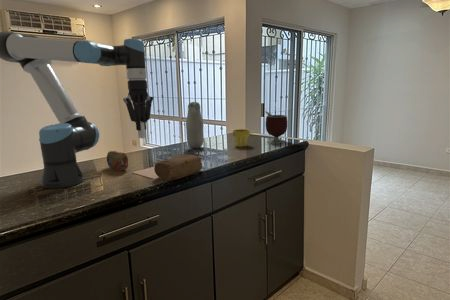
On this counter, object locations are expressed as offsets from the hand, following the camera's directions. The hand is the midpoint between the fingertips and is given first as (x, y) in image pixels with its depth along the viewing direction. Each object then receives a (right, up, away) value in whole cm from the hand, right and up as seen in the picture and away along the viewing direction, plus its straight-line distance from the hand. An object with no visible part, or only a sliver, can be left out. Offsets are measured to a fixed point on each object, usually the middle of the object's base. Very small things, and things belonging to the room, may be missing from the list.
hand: (142, 137), depth 126 cm
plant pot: (+45, -3, +63) cm, 77 cm away
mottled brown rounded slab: (-15, -14, +16) cm, 26 cm away
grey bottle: (+17, -4, +59) cm, 62 cm away
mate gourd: (+68, 0, +72) cm, 99 cm away
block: (+9, -14, -5) cm, 17 cm away
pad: (+6, -15, +10) cm, 19 cm away
